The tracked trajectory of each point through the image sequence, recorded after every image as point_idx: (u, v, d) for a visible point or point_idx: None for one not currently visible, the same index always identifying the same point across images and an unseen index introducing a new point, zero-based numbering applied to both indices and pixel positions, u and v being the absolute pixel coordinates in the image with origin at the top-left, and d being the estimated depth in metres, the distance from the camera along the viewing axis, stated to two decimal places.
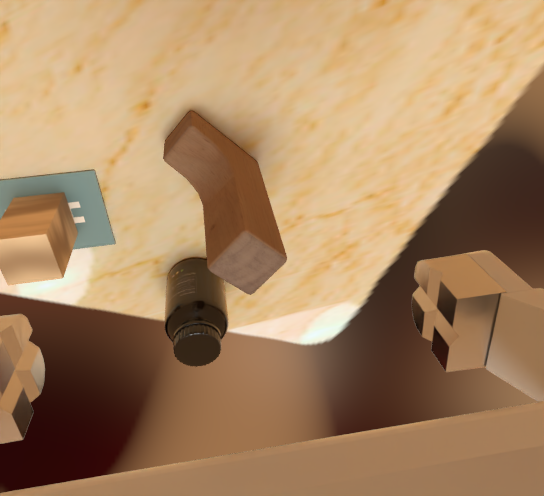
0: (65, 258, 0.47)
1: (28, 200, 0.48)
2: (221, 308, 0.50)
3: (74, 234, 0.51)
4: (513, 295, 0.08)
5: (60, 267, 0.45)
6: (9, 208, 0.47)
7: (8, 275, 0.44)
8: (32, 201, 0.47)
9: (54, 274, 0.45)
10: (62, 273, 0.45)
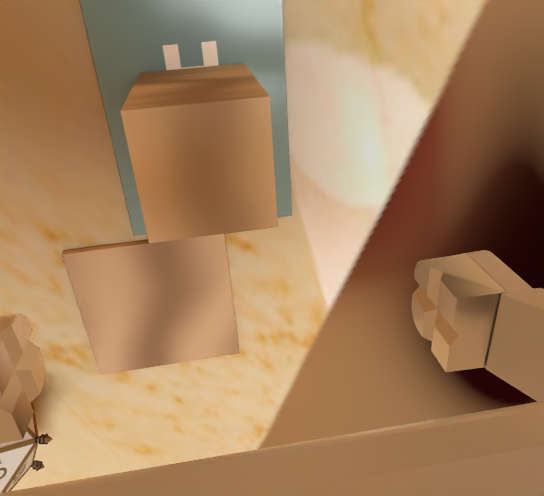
0: (244, 85, 0.18)
1: None
2: None
3: (236, 67, 0.22)
4: (513, 295, 0.08)
5: (238, 96, 0.16)
6: None
7: (248, 219, 0.18)
8: None
9: (257, 116, 0.17)
10: (258, 95, 0.16)
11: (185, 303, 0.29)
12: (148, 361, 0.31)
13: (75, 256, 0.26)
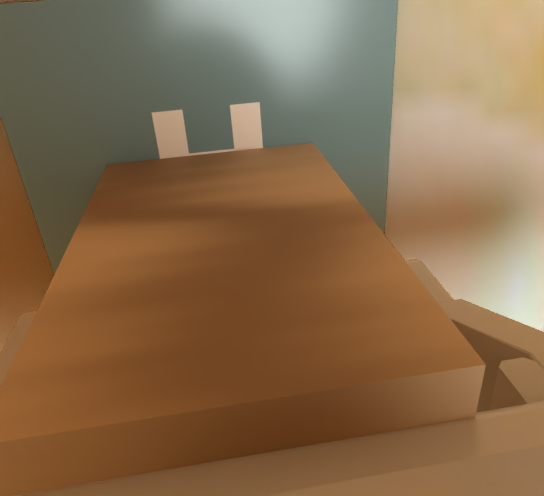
0: (357, 259, 0.07)
1: None
2: None
3: (302, 157, 0.11)
4: None
5: (376, 354, 0.05)
6: None
7: None
8: None
9: (433, 414, 0.05)
10: (441, 350, 0.05)
11: None
12: None
13: None
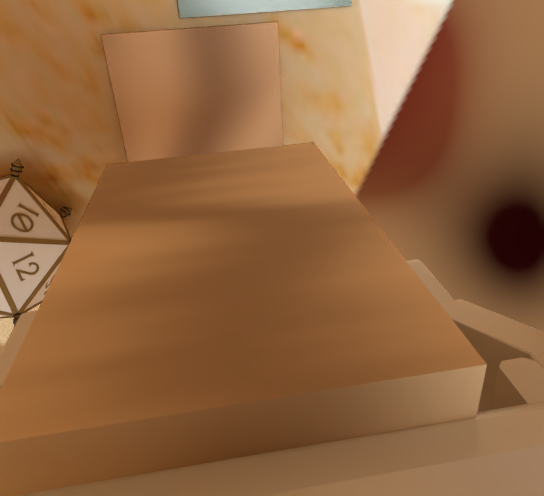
0: (359, 259, 0.07)
1: None
2: None
3: (303, 157, 0.11)
4: None
5: (376, 354, 0.05)
6: None
7: None
8: None
9: (434, 414, 0.05)
10: (442, 350, 0.05)
11: (231, 112, 0.27)
12: None
13: (115, 39, 0.24)
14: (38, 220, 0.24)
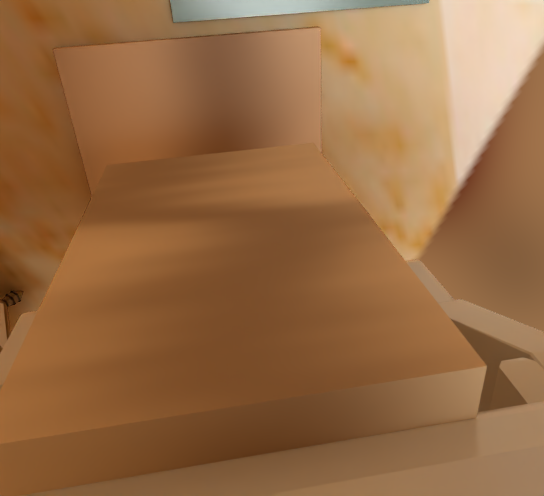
0: (358, 260, 0.07)
1: None
2: None
3: (303, 158, 0.11)
4: None
5: (377, 356, 0.05)
6: None
7: None
8: None
9: (435, 415, 0.05)
10: (442, 352, 0.05)
11: None
12: None
13: (76, 55, 0.16)
14: None
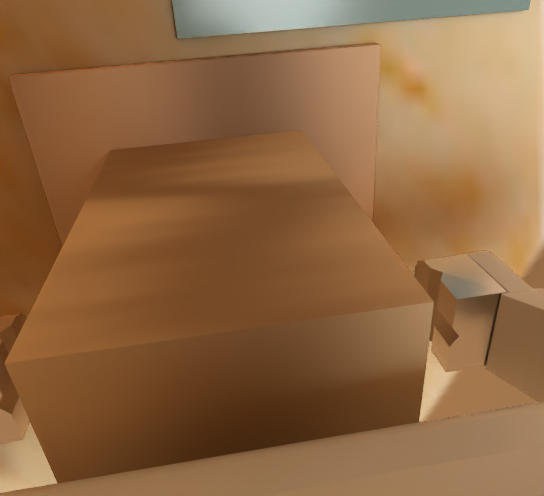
0: (334, 225, 0.08)
1: None
2: None
3: (291, 143, 0.12)
4: (513, 295, 0.08)
5: (342, 295, 0.06)
6: None
7: None
8: None
9: (392, 347, 0.06)
10: (397, 292, 0.06)
11: None
12: None
13: (40, 84, 0.11)
14: None
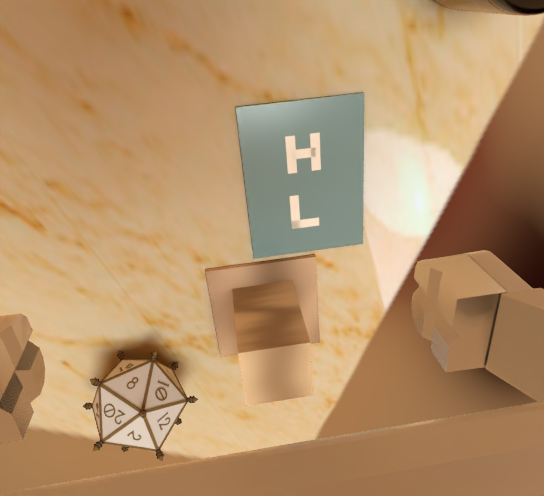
0: (295, 323, 0.35)
1: None
2: None
3: (288, 288, 0.39)
4: (513, 295, 0.08)
5: (294, 341, 0.33)
6: None
7: (298, 392, 0.35)
8: None
9: (304, 350, 0.33)
10: (304, 340, 0.33)
11: None
12: None
13: (214, 273, 0.38)
14: (168, 389, 0.38)
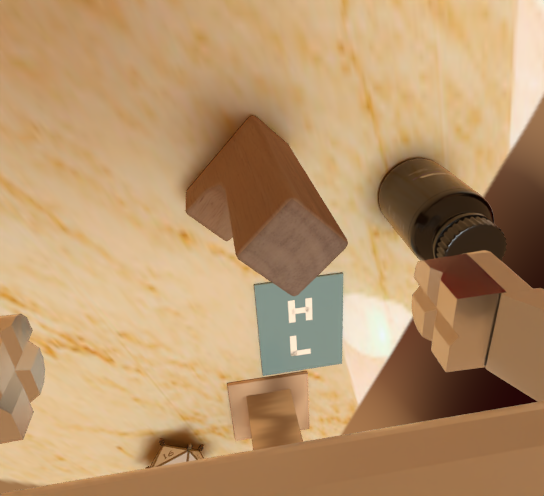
0: (294, 430, 0.49)
1: None
2: (433, 199, 0.36)
3: (287, 396, 0.53)
4: (513, 295, 0.08)
5: None
6: None
7: None
8: None
9: None
10: None
11: None
12: None
13: (233, 386, 0.53)
14: None
